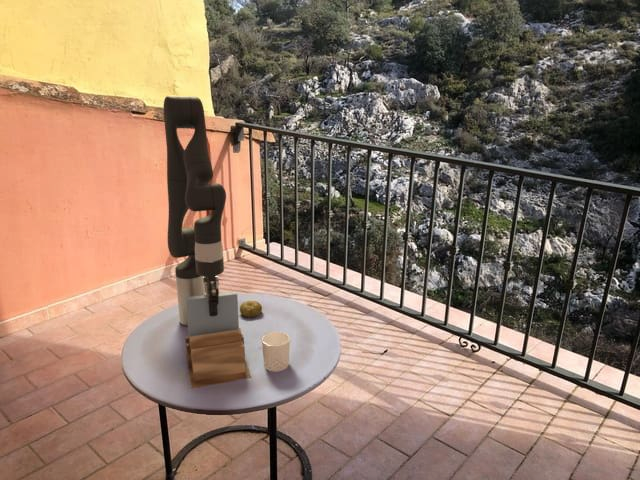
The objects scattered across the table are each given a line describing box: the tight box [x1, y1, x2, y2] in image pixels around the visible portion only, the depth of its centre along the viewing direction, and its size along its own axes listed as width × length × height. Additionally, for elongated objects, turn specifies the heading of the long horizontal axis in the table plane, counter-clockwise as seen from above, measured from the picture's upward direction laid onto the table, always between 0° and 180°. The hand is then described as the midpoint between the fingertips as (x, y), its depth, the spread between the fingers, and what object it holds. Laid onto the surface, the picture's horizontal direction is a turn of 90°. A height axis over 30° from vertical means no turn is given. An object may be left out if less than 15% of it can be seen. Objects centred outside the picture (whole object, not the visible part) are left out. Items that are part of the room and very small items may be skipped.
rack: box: [184, 327, 252, 389], centre depth 135 cm, size 16×16×8 cm
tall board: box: [186, 290, 240, 342], centre depth 137 cm, size 2×14×20 cm, turn 109°
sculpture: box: [239, 300, 263, 318], centre depth 171 cm, size 8×4×8 cm
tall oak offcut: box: [190, 328, 243, 370], centre depth 135 cm, size 3×14×10 cm, turn 109°
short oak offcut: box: [191, 341, 246, 381], centre depth 132 cm, size 3×14×8 cm, turn 109°
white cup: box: [261, 331, 291, 373], centre depth 136 cm, size 8×8×10 cm
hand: (212, 313), depth 136 cm, fingers open, 2 cm apart
